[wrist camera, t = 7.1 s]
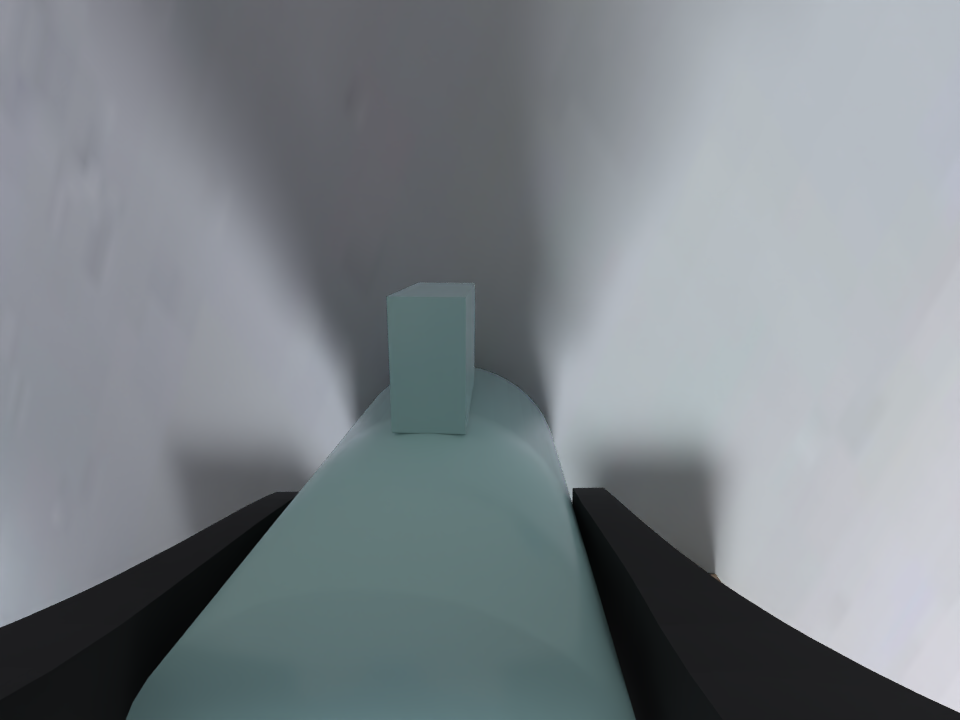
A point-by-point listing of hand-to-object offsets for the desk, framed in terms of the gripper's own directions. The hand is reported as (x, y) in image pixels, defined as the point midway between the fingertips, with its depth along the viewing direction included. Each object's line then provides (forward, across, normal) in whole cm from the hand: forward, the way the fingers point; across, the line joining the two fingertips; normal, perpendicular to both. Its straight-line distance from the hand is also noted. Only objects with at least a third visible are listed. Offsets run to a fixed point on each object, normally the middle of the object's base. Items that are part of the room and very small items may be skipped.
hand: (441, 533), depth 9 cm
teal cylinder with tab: (+3, 0, -1) cm, 3 cm away
